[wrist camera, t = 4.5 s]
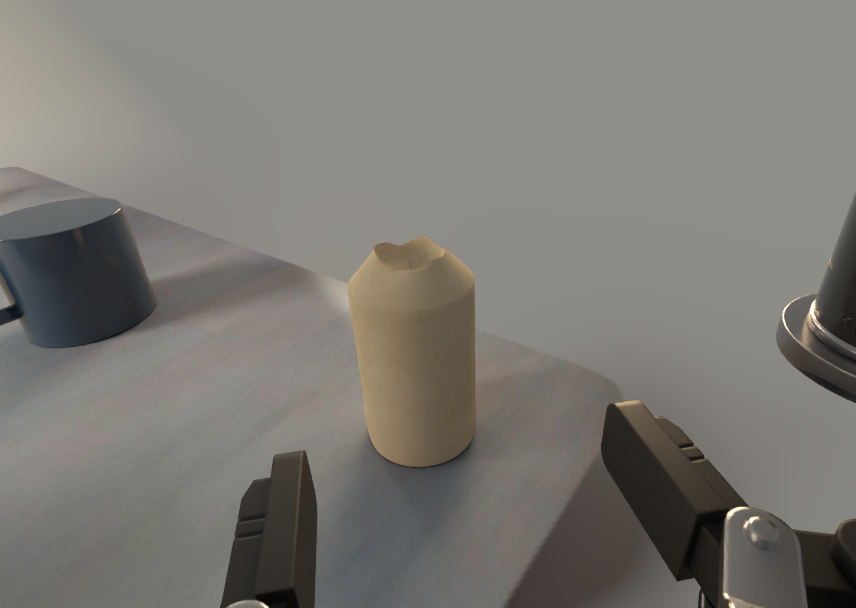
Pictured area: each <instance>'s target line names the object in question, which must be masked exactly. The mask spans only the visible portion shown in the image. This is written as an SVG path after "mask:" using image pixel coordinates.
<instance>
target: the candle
mask: <svg viewBox="0 0 856 608" xmlns="http://www.w3.org/2000/svg"><path fill="white" fill-rule="evenodd" d="M474 281H475V279H474V275H473V273H472V272H471V271H470V269H468V268H467V267H466V266H465V265H464V264H463V263H462V262H461V261H459V260H458V259H457V258H456V257H455V256H453V255H452V254H451V253H449V252H448V251H447V250H446V249H445V248H444V247H438V246H437V245H435V244H434V243H433V242H432V241H431V240H430V239H428V238H426V237H419V238H416V239H414V240H411V241H410V242H408V243H406V244H404V245H401V246H397V245H393V244H390V243H381V244H378V245H376V246H375V247H374V249H373V251H372V252H371V254H370V255H369V256H368V258H367V259H366V261H365V262H364V263H363V264H362V266H361V267H360V268H359V269H358V271H357V272H356V273H355V274H354V275H353V277H352V278H351V279H350V281H349V283H348V294H349V302H350V308H351V315H352V322H353V329H354V336H355V343H356V350H357V357H358V364H359V371H360V378H361V385H362V391H363V398H364V405H365V412H366V419H367V425H368V431H369V435H370V439H371V441H372V443H373V445H374V447H375V449H376V450H377V451H378V452H379V453H380V454H381V455H382V456H383V457H385V458H386V459H388V460H390V461H392V462H394V463H397V464H400V465H404V466H411V467H428V466H434V465H438V464H441V463H444V462H447V461H449V460H451V459H453V458H455V457H456V456H458V455H459V454H460V453H461V452H463V451H464V450H465V449H466V447H467V446H468V445H469V443H470V442H471V440H472V437H473V434H474V430H475V410H476V407H475V282H474Z"/></svg>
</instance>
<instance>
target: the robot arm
mask: <svg viewBox="0 0 856 608" xmlns="http://www.w3.org/2000/svg"><path fill="white" fill-rule="evenodd" d="M807 322H808V325H809V327H810V329H811V330H812V332H813V333H814V334H815V335H816V336H817V337H818V338H819V339H820V340H821V341H822V342H824V343H825V344H826V345H828V346H829V347H830V348H832V349H833V350H835V351H837V352H838V353H840V354H842V355H844V356H846V357H847V358H849V359H851V360H853V361H856V192H855V195H854V197H853V200H852V203H851V205H850V208H849V211H848V214H847V217H846V219H845V222H844V224H843V227H842V230H841V233H840V235H839V238H838V241H837V244H836V246H835V249H834V252H833V254H832V257H831V259H830V262H829V264H828V267H827V270H826V273H825V275H824V278H823V281H822V284H821V286H820V289H819V292H818V294H817V297H816V299H815V300H814V302H813V303H812V305H811V308H810V310H809V313H808V317H807ZM601 453H602V458H603V461H604V464H605V466H606V468H607V470H608V472H609V473H610V475H611V477H612V478H613V480H614V481H615V483H616V485H617V486H618V488H619V489H620V491H621V492H622V494H623V496H624V497H625V499H626V500H627V502H628V504H629V505H630V507H631V509H632V510H633V512H634V513H635V515H636V517H637V518H638V520H639V521H640V523H641V525H642V526H643V528H644V529H645V531H646V532H647V534H648V536H649V537H650V539H651V540H652V542H653V544H654V545H655V547H656V548H657V550H658V552H659V553H660V555H661V556H662V558H663V560H664V561H665V563H666V564H667V566H668V568H669V569H670V571H671V572H672V574H673V576H674V577H675V578H676V580H677V581H681V580H686V579H692V578H695V579H696V580H697V582H698V584H699V585H700V587H701V590H700V592H699V601H698V608H856V519H850V520H846V521H844V522H842V523H841V524H840V525H839V527H838V529H837V531H836V533H835V534H827V533H817V532H809V531H800V530H794V529H791V528H790V527H789V526H788V525H787V524H786V523H785V522H783V521H782V520H781V519H779V518H778V517H776V516H774V515H773V514H771V513H769V512H766V511H764V510H761V509H757V508H752V507H749V506H748V505H747V504H746V503H745V501H744V500H743V499H742V498H741V497H740V496H739V495H738V494H737V492H736V491H735V490H734V489H733V488H732V487H731V486H730V484H729V483H728V482H727V481H726V480H725V479H724V478H723V476H721V474H720V473H719V472H718V471H717V470H716V468H715V467H714V466H713V465H712V464H711V463H710V462H709V460H708V459H705V458H704V455H703V454H702V452H701V451H700V450H699V449H698V448H697V447H696V446H694V445H693V442H692V441H691V440H690V439H689V438H688V437H687V435H685V433H684V432H683V431H682V430H681V429H680V428H679V427H678V426H676V425H674V424H673V423H671V422H670V421H668V420H667V419H665V418H664V417H662V416H658V417H654V416H653V415H652V414H651V413H650V411H649V410H648V409H647V408H646V407H645V405H644V404H643V403H642V402H641V401H639V400H632V401H626V402H619V403H613V404H609V405H608V407H607V411H606V417H605V424H604V430H603V437H602V443H601ZM316 542H317V502H316V494H315V489H314V485H313V481H312V476H311V472H310V467H309V463H308V459H307V454H306V452H305V450H303V451H297V452H290V453H284V454H277V455H275V456H274V458H273V464H272V471H271V478H265V479H259V480H254V481H253V482H252V484H251V486H250V487H249V489H248V490H247V492H246V493H245V495H244V496H243V498H242V500H241V505H240V511H239V516H238V523H237V526H236V531H235V539H234V541H233V546H232V552H231V557H230V562H229V567H228V572H227V577H226V582H225V588H224V593H223V598H222V602H221V606H220V608H314V605H315V573H316Z"/></svg>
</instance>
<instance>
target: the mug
mask: <svg viewBox="0 0 856 608" xmlns="http://www.w3.org/2000/svg"><path fill="white" fill-rule="evenodd" d="M0 285H1V287H2V289H3V291H4V293H5V295H6V297H7V299H8V301H9V303H10V305H11V306H8V307H5V308H3V309H0V326H1V325H3V324H6V323H9V322H11V321H14V320H17V319H18V320H19V322H20V324H21V326H22V328H23V330H24V332H25V333H26V335H27V337H28V339H29V340H30V342H32V343H33V344H35V345H38V346H42V347H49V348H62V347H71V346H78V345H83V344H88V343H92V342H95V341H99V340H102V339H105V338H108V337H111V336H113V335H116V334H118V333H121V332H123V331H125V330H127V329H129V328H131V327H133V326H135V325H136V324H138V323H139V322H141V321H142V320H144V319H145V318H146V317H147V316H148V315H149V314H150V313H151V312H152V311H153V310H154V308H155V306H156V298H155V296H154V293H153V290H152V287H151V284H150V282H149V279H148V276H147V273H146V270H145V268H144V265H143V262H142V259H141V256H140V254H139V251H138V248H137V245H136V242H135V240H134V237H133V234H132V231H131V228H130V226H129V223H128V220H127V217H126V214H125V212H124V209H123V206H122V204H121V202H119V201H117V200H114V199H109V198H81V199H72V200H64V201H58V202H52V203H47V204H42V205H37V206H33V207H29V208H25V209H21V210H18V211H14V212H11V213H8V214H5V215H2V216H0Z"/></svg>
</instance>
